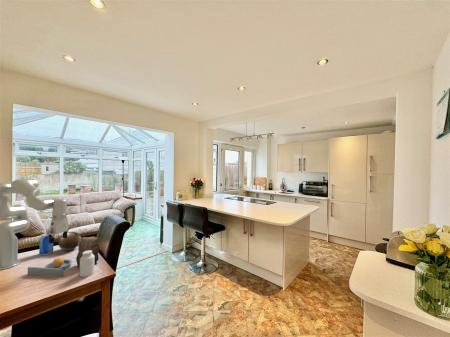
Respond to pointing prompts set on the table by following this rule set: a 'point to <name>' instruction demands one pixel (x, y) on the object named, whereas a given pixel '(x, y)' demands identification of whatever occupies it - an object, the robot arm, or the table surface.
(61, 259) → the ball
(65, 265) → the bowl
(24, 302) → the table surface
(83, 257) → the pill bottle
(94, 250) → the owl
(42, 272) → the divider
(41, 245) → the beer can
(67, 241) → the wooden sphere
